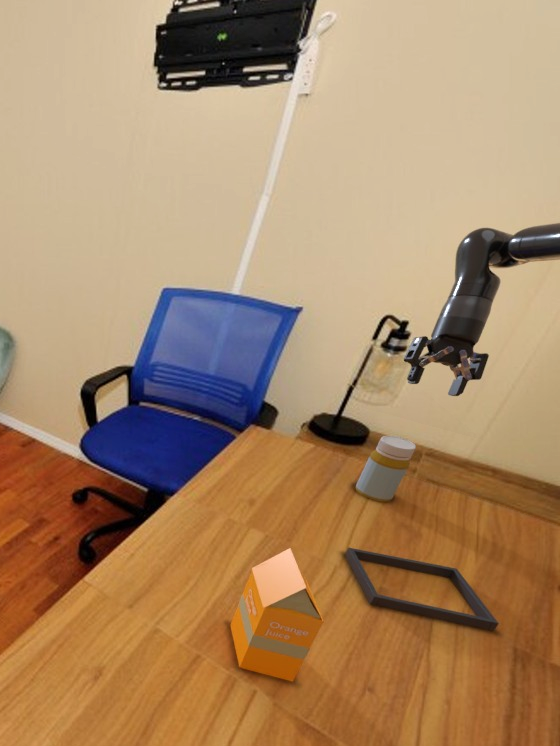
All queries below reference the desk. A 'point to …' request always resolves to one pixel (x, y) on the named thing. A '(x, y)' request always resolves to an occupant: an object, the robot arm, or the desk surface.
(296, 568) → the orange juice
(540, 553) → the desk surface
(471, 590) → the dark rectangular frame
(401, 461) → the bottle
